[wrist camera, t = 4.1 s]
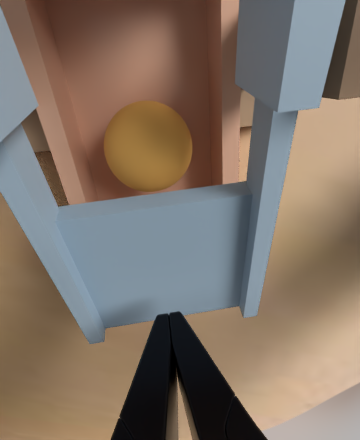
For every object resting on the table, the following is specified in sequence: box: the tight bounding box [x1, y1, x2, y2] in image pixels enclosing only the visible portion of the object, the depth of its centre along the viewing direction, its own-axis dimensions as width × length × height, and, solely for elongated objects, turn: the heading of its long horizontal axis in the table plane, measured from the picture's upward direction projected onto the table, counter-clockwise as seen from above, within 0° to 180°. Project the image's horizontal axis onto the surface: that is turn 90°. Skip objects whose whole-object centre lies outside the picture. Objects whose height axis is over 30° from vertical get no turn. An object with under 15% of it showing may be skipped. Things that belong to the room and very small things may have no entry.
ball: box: [104, 101, 192, 192], centre depth 11 cm, size 4×4×4 cm
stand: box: [0, 0, 360, 152], centre depth 8 cm, size 6×11×8 cm, turn 95°
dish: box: [0, 0, 241, 205], centre depth 11 cm, size 10×7×3 cm
